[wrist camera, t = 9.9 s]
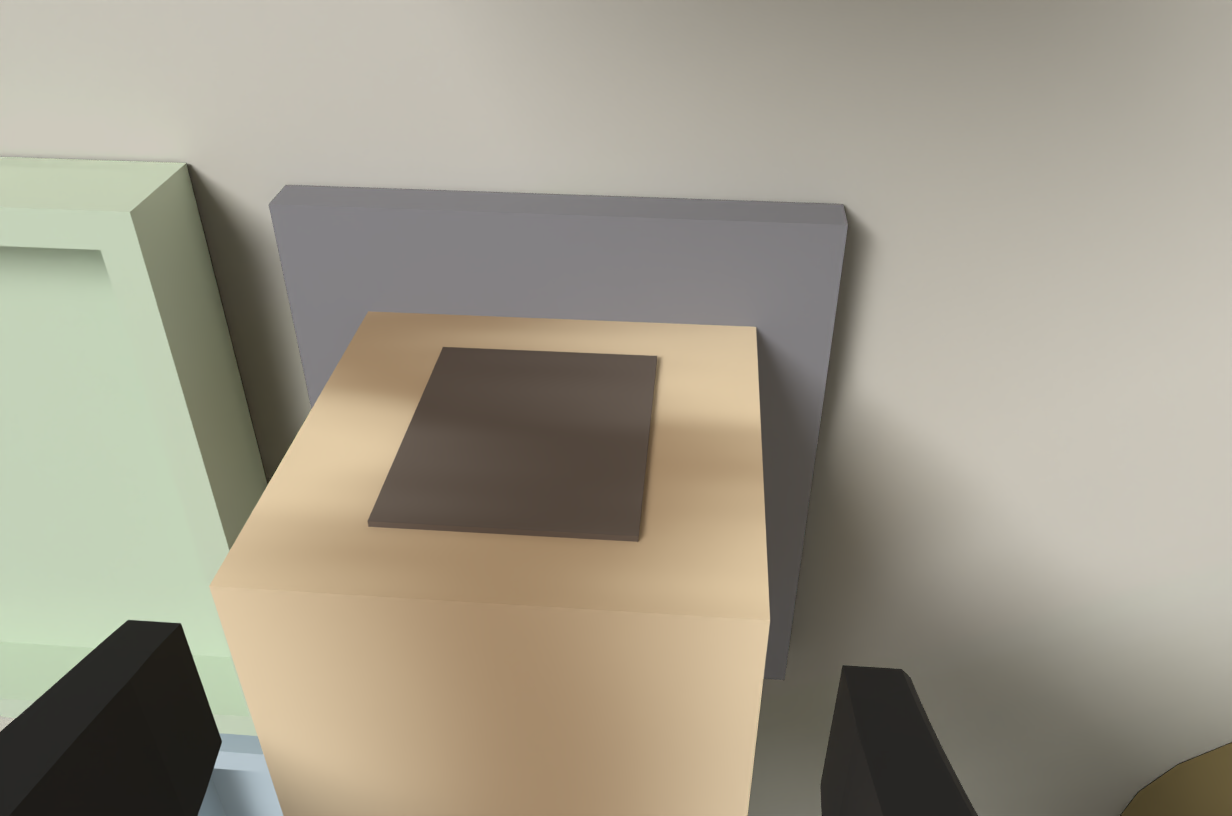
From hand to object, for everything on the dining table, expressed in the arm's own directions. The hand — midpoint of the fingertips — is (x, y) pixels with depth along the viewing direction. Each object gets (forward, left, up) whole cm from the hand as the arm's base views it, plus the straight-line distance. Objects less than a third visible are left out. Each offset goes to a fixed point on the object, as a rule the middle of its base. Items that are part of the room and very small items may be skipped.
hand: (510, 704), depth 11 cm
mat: (0, 0, -5) cm, 5 cm away
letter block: (0, 0, -4) cm, 4 cm away
